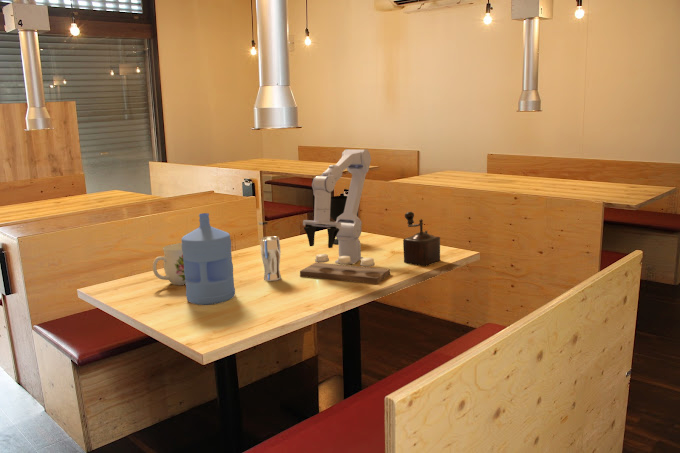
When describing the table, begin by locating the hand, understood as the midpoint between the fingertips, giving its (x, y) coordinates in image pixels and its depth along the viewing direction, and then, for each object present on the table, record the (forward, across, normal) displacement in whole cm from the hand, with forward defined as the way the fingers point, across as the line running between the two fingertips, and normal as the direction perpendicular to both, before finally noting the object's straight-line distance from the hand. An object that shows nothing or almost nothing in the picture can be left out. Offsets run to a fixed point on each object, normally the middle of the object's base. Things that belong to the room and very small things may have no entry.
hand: (320, 246), depth 222 cm
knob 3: (+5, +18, +1) cm, 19 cm away
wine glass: (+3, -15, +49) cm, 51 cm away
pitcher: (+15, -44, -24) cm, 53 cm away
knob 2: (+5, +9, +1) cm, 10 cm away
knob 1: (+5, 0, +1) cm, 5 cm away
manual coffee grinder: (+6, +27, +29) cm, 40 cm away
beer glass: (+12, -14, -10) cm, 21 cm away
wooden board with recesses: (+10, +9, +2) cm, 13 cm away
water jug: (+16, -22, -34) cm, 44 cm away
